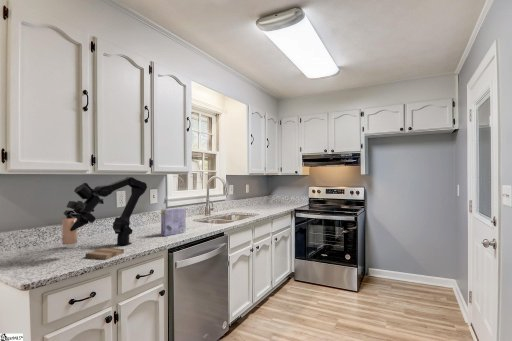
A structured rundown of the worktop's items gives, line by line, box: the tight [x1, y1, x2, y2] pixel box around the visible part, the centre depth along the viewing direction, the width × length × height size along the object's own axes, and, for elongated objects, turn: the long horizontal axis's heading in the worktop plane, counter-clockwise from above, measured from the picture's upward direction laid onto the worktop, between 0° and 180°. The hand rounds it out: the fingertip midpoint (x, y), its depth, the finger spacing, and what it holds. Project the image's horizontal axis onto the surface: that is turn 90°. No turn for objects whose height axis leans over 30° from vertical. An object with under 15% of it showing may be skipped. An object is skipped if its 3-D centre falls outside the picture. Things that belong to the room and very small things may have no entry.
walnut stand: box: [85, 247, 125, 260], centre depth 144 cm, size 12×12×2 cm
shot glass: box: [65, 233, 80, 249], centre depth 161 cm, size 7×7×7 cm
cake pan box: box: [160, 207, 187, 237], centre depth 199 cm, size 19×5×18 cm, turn 146°
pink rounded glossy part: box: [61, 218, 78, 246], centre depth 140 cm, size 6×6×12 cm
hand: (66, 230), depth 139 cm, fingers closed on pink rounded glossy part, 6 cm apart
